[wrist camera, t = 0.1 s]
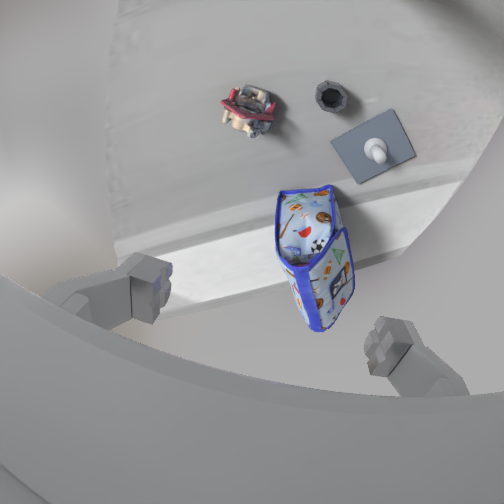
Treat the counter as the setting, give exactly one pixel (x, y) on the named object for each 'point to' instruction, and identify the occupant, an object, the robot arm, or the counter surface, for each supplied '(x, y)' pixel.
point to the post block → (373, 146)
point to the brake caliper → (249, 110)
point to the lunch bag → (314, 254)
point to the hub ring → (328, 106)
